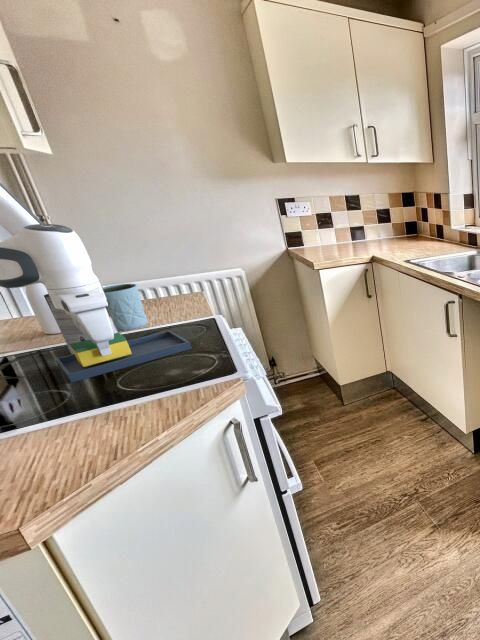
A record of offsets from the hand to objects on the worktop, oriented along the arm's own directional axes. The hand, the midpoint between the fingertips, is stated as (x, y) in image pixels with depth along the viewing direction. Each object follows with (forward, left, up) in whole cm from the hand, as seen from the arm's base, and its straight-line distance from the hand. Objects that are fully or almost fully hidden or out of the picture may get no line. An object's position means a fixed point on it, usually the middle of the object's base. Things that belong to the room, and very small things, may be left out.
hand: (102, 351), depth 102 cm
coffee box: (+1, +16, -3) cm, 16 cm away
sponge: (0, 0, -2) cm, 2 cm away
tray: (+4, 0, -3) cm, 5 cm away
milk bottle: (-2, +43, -3) cm, 43 cm away
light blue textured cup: (+11, +30, -3) cm, 32 cm away
